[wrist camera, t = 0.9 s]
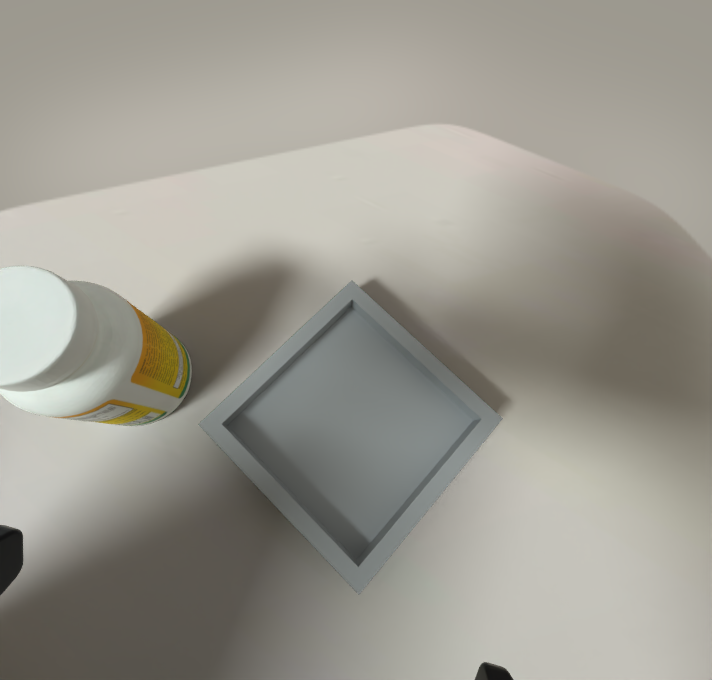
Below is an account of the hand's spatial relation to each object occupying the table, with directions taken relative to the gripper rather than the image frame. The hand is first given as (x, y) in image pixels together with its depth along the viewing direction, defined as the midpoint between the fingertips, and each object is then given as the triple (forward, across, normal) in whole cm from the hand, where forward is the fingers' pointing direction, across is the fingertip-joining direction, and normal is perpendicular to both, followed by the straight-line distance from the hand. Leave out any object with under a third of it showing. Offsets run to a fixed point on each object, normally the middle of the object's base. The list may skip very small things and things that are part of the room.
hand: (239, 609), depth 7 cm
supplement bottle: (+13, +11, +3) cm, 17 cm away
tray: (+14, -1, +3) cm, 14 cm away
